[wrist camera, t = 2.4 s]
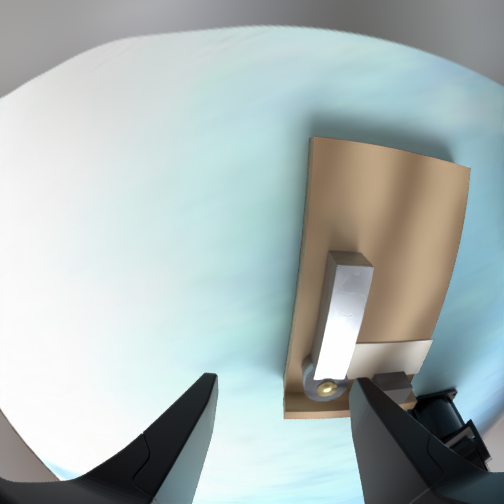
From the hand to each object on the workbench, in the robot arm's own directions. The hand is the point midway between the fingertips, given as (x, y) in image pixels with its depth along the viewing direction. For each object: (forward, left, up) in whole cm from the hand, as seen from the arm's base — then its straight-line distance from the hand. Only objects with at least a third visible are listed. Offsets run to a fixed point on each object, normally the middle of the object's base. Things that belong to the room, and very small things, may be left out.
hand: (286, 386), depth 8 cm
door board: (-8, +2, -12) cm, 14 cm away
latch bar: (-4, +4, -10) cm, 11 cm away
